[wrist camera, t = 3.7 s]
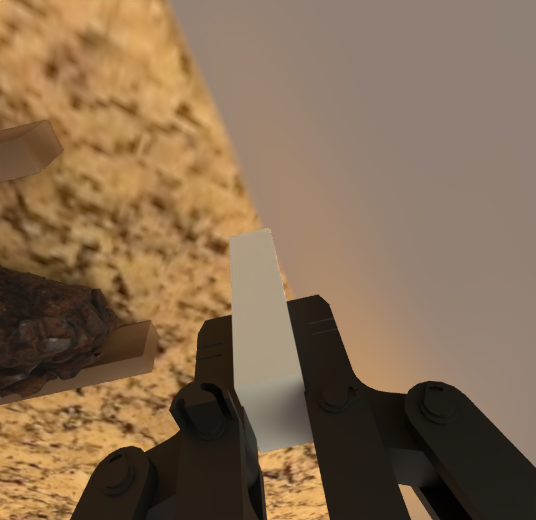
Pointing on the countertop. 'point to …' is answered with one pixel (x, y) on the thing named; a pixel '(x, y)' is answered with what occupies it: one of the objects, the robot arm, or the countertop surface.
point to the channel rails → (119, 341)
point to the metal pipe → (48, 331)
